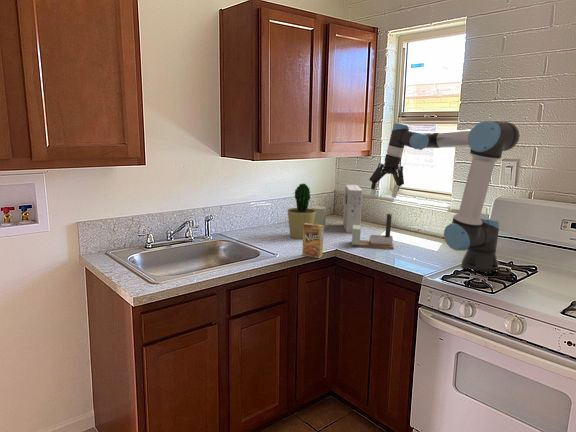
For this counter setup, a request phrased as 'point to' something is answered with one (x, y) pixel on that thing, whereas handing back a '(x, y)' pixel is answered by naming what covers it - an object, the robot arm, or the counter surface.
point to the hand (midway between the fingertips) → (383, 196)
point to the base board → (372, 245)
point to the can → (319, 215)
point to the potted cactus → (300, 212)
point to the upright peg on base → (387, 226)
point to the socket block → (356, 234)
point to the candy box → (312, 240)
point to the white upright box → (352, 207)
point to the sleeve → (381, 240)
